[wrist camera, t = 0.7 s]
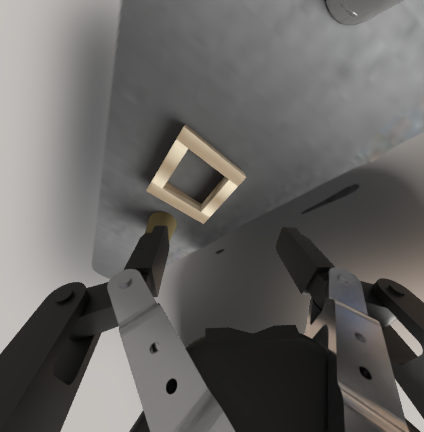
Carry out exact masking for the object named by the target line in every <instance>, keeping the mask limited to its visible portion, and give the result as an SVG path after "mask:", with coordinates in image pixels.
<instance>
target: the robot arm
mask: <svg viewBox="0 0 424 432" xmlns="http://www.w3.org/2000/svg"><path fill="white" fill-rule="evenodd" d="M402 1H404V0H326V3H327V6H328V8H329V11H330V13H331V14H332V16H333V17H334V18H335V19H336V20H337V21H339V22H340V23H342V24H346V25H354V24H359V23H361V22H364V21H366V20H368V19H370V18H372V17H374V16H376V15H377V14H379V13H381V12H383V11H385V10H387V9H388V8H390V7H392V6H394V5H396V4H398V3H400V2H402ZM276 251H277V253H278V255H279V257H280V258H281V260H282V261H283V263H284V265H285V267H286V268H287V270H288V272H289V274H290V275H291V277H292V279H293V280H294V282H295V284H296V286H297V287H298V289H299V291H300V293H301V294H310V295H311V299H310V303H309V310H308V318H307V326H306V331H305V334H304V335H303V334H300V333H299V332H298V330H297V328H296V325H281V326H273V327H270V328H267V329H265V330H262V331H259V332H257V333H253V334H252V333H248V332H244V331H240V330H236V329H232V328H206V330H205V336H203V337H200V338H198V339H197V340H195V341H193V342H192V343H191V344H189V345H188V346H187V347H186V348H185V347H184V345H183V344H182V342H181V340H180V338H179V337H178V335H177V333H176V331H175V330H174V328H173V326H172V324H171V322H170V321H169V319H168V317H167V315H166V314H165V312H164V310H163V308H162V307H161V305H160V304H159V303H158V304H157V303H156V301H155V299H154V297H157V296H158V293H159V289H160V285H161V280H162V276H163V272H164V269H165V265H166V261H167V257H168V253H169V236H168V227H167V225H155V226H154V228H153V230H152V233H145V234H144V235H143V236H142V237H141V238H140V240H139V241H138V243H137V245H136V247H135V250H134V251H133V253H132V255H131V257H130V259H129V261H128V262H127V264H126V266H125V268H124V270H123V271H120V272H118V273H117V274H115V275H114V276H113V277H112V278H111V279H110V280H109V282H107V283H104V284H100V285H97V286H93V287H89V288H86V287H85V285H84V284H82V283H80V282H73V283H69V284H66V285H63V286H61V287H60V288H58V289H56V290H54V291H53V292H52V293H51V294H50V295H49V296H48V297H47V298H46V299H45V300H44V301H43V302H42V304H41V305H40V306H39V307H38V309H37V310H36V311H35V312H34V313H33V315H32V316H31V317H30V318H29V320H28V321H27V322H26V323H25V325H24V326H23V327H22V328H21V330H20V331H19V332H18V333H17V334H16V336H15V337H14V338H13V339H12V341H11V342H10V343H9V344H8V346H7V347H6V348H5V349H4V350H3V352H2V353H1V354H0V432H60V431H61V428H62V426H63V423H64V421H65V419H66V417H67V414H68V412H69V409H70V407H71V404H72V402H73V400H74V397H75V395H76V392H77V390H78V388H79V385H80V383H81V381H82V378H83V376H84V373H85V371H86V369H87V366H88V364H89V361H90V359H91V357H92V354H93V352H94V349H95V347H96V345H97V342H98V340H99V337H100V335H101V333H102V332H104V331H107V330H109V329H112V328H115V327H118V326H119V332H120V336H121V339H122V342H123V345H124V349H125V352H126V355H127V358H128V361H129V365H130V368H131V371H132V374H133V378H134V380H135V384H136V387H137V390H138V394H139V397H140V400H141V403H142V407H143V412H142V413H141V415H140V416H139V418H138V419H137V421H136V422H135V424H134V425H133V427H132V428H131V430H130V432H420V431H419V430H418V429H417V428H416V427H415V426H413V425H412V424H411V423H410V422H409V421H408V420H407V419H405V417H404V413H403V410H402V406H401V402H400V398H399V394H398V390H397V386H396V382H395V379H396V381H397V382H398V383H399V385H400V386H401V387H402V389H403V390H404V392H405V393H406V395H407V396H408V398H409V399H410V400H411V401H412V403H413V404H414V406H415V407H416V409H417V410H418V411H419V413H420V414H421V416H422V417H423V419H424V303H423V302H422V301H421V300H420V299H419V298H417V297H416V296H415V295H414V294H413V293H411V292H410V291H409V290H408V289H407V288H405V287H404V286H402V285H400V284H398V283H396V282H394V281H392V280H389V279H379V280H378V281H377V282H376V283H375V284H370V283H366V282H362V281H359V279H358V278H357V277H356V276H355V275H353V274H352V273H350V272H348V271H347V270H344V269H341V268H336V267H335V266H333V264H332V263H331V262H330V261H329V260H328V259H327V258H326V257H325V256H324V255H323V254H322V252H321V251H319V250H318V248H317V247H316V246H315V245H314V244H313V243H312V242H311V240H310V239H308V238H307V237H305V236H304V235H302V234H301V233H300V232H299V231H298V230H297V229H296V228H294V227H283V228H282V230H281V233H280V235H279V238H278V241H277V244H276ZM396 319H398V320H399V321H400V322H401V323H402V324H403V325H404V326H405V328H406V329H407V330H408V331H409V332H410V333H411V334H412V335H413V336H414V337H415V338H416V339H417V340H418V341H419V343H420V344H421V346H422V348H423V353H422V355H420V356H419V357H418V356H417V355H416V354H415V353H414V352H413V351H412V350H411V349H410V347H409V346H408V345H407V344H406V343H405V342H404V341H403V339H402V338H401V337H400V336H399V335H398V334H397V333H396V331H395V330H394V329H393V328H392V327H391V326H390V324H391V323H392V322H394V321H395V320H396Z"/></svg>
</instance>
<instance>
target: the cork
mask: <svg viewBox="0 0 424 432" xmlns="http://www.w3.org/2000/svg"><path fill="white" fill-rule="evenodd" d="M155 225H167V227H168V236H169V241H170V239H171V237H172V235H173V233H174V230H175V228H176V225H177V223H176V220H175V218H174V217H173V216H172V215H170V214H168V213H166V212H155V213H153V214H152V215H151V216H150V217H149V220H148V223H147V227H146V231H145V233H152V230H153V228H154V226H155Z"/></svg>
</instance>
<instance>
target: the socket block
mask: <svg viewBox="0 0 424 432" xmlns="http://www.w3.org/2000/svg"><path fill="white" fill-rule="evenodd" d="M188 149H190V150H191V151H192V152H194V153H195V154H196V155H198V156H199V157H200V158H202V159H203V160H204V161H205V162H207V163H208V164H209V165H211V166H212V167H213V168H215V169H216V170H217V171H219V172H220V173H221V174H222V175H224V178H223V179H222V180H221V181H220V182H219V184H218V185H217V186H216V187H215V188H214V190H213V191H212V192H211V193H210V194H209V196H208V197H207V198H206V199H205V200H204V202H203V203H202V204H201V203H199V202H197V201H196V200H194V199H193V198H191V197H189V196H188V195H186V194H185V193H183V192H182V191H180V190H178V189H177V188H175V187H174V186H172V185H171V184H169V183H167V181H168V179H169V178H170V176H171V175H172V173H173V171H174V170H175V168H176V167H177V165H178V164H179V162H180V160H181V159H182V157H183V156H184V154H185V153H186V151H187V150H188ZM245 178H246V176H245V174H244V173H243V171H242V170H241V169H239V168H238V167H237V166H236V165H234V164H233V163H232V162H231V161H230V160H228V159H227V158H226V157H225V156H224V155H222V154H221V153H220V152H219V151H218V150H216V149H215V148H214V147H213V146H211V145H210V144H209V143H208V142H207V141H205V140H204V139H203V138H202V137H201V136H199V135H198V134H197V133H196V132H195V131H193V130H192V129H191V128H190V127H188V126H187V125H185V126H184V127H183V129H182V130H181V132H180V134H179V136H178V137H177V139H176V141H175V142H174V144H173V146H172V148H171V149H170V151H169V153H168V154H167V156H166V158H165V159H164V161H163V163H162V165H161V166H160V168H159V170H158V171H157V173H156V175H155V177H154V178H153V180H152V182H151V183H150V185H149V187H148V189H147V190H146V191H147V192H149V193H151V194H153V195H154V196H156V197H158V198H159V199H161V200H163V201H165V202H166V203H168V204H170V205H172V206H173V207H175V208H177V209H179V210H180V211H182V212H184V213H185V214H187V215H189V216H191V217H192V218H194V219H196V220H198V221H199V222H201V223H203V224H204V223H205V222H206V221H207V220H208V218H209V217H210V216H211V215H212V214H213V213H214V212H215V211H216V210H217V209H218V208H219V206H220V205H221V204H222V203H223V202H224V201H225V200H226V199H227V198H228V197H229V196H230V194H231V193H232V192H233V191H234V190H235V189H236V188H237V187H238V186H239V185H240V184H241V182H242V181H243V180H244V179H245Z"/></svg>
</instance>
